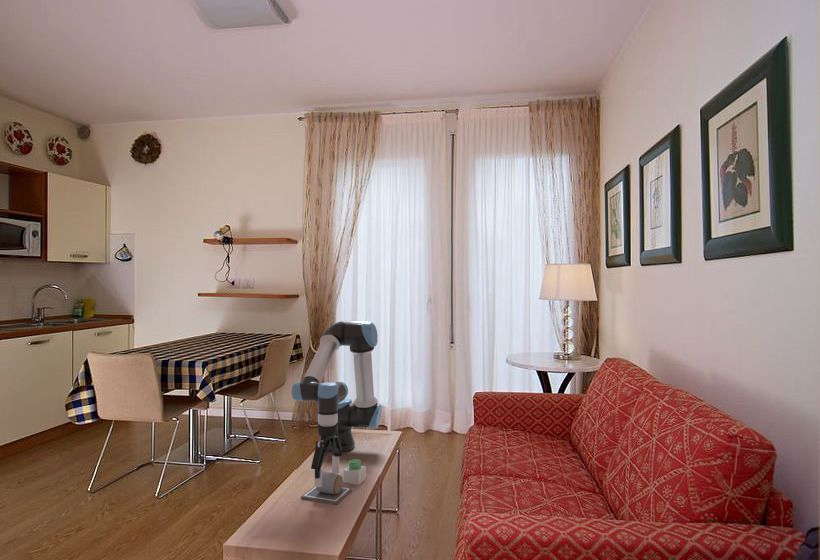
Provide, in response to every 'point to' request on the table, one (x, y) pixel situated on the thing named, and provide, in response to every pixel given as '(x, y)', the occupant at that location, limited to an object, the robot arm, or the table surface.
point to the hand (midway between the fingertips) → (327, 479)
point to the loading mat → (326, 495)
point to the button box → (354, 475)
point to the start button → (354, 463)
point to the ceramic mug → (330, 483)
